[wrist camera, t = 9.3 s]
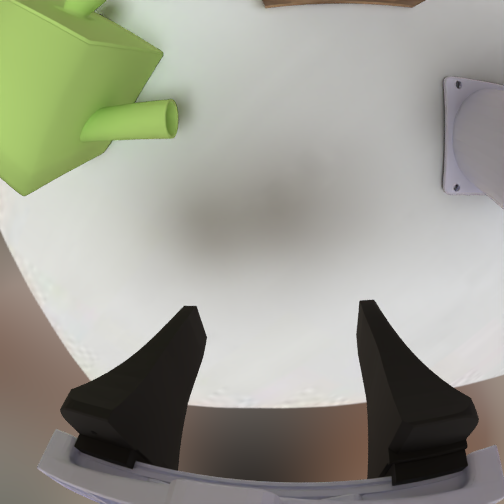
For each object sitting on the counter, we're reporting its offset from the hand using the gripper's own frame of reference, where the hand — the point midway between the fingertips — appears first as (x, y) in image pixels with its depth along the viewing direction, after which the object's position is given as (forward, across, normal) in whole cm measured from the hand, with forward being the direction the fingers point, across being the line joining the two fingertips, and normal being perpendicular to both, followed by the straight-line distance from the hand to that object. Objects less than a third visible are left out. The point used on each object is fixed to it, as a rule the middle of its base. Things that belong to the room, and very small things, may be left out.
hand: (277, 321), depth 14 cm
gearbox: (+10, +11, -14) cm, 20 cm away
